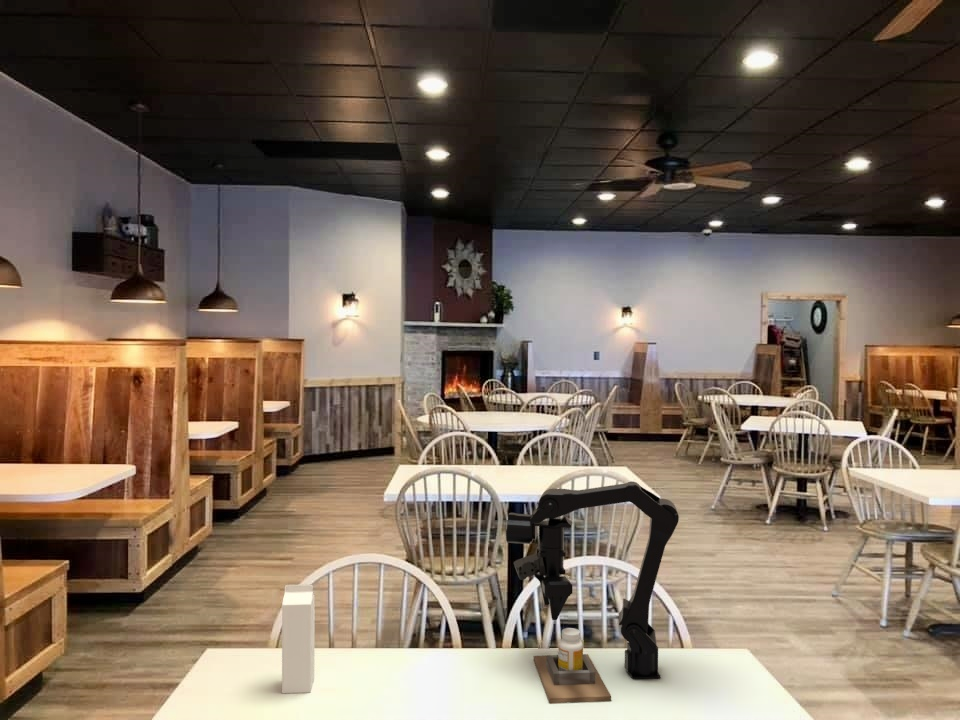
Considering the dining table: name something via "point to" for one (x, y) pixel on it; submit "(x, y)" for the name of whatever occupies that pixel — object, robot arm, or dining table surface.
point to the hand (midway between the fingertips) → (550, 612)
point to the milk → (298, 638)
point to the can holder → (570, 681)
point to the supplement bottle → (570, 651)
